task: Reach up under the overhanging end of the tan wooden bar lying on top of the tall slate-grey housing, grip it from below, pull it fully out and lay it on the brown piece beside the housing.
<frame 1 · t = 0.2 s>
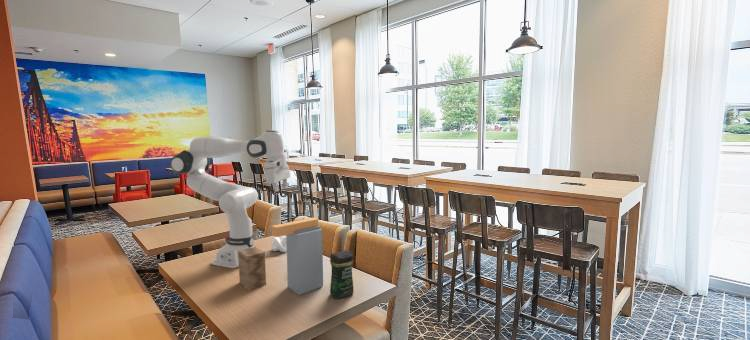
hand: (281, 189, 175), 39 cm above the table, tool pointing down, fingers open, 8 cm apart
housing: (305, 286, 154), on the table
brown piece: (252, 283, 157), on the table
coffee jar: (342, 294, 147), on the table
crumpled paper ball: (280, 250, 201), on the table
tan wooden bar: (296, 231, 149), point 26 cm above the table, touching housing
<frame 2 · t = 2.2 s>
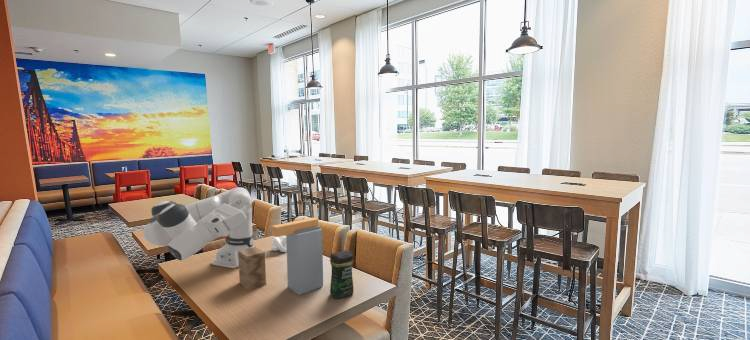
hand: (245, 202, 136), 41 cm above the table, tool pointing upward, fingers open, 8 cm apart
nothing on the table moved.
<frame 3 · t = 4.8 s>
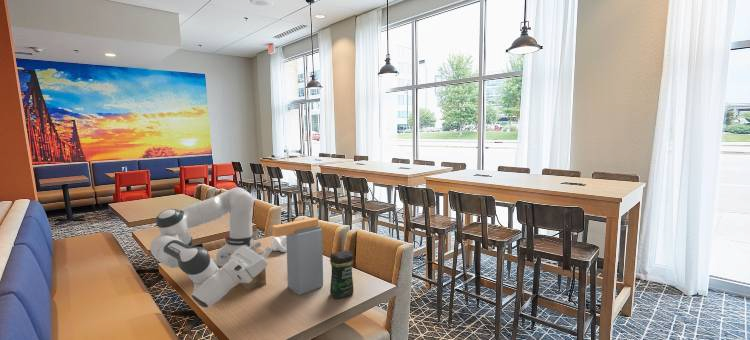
hand: (265, 245, 139), 23 cm above the table, tool pointing upward, fingers open, 8 cm apart
nothing on the table moved.
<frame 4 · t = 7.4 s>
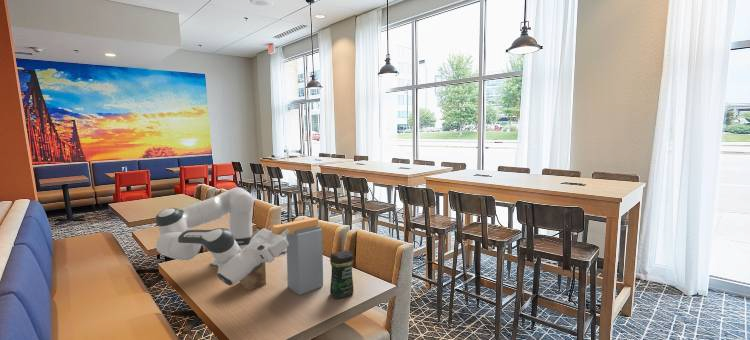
hand: (284, 228, 145), 28 cm above the table, tool pointing upward, fingers closed on tan wooden bar, 4 cm apart
tan wooden bar: (296, 231, 149), point 26 cm above the table, touching gripper, housing
everything else where it was.
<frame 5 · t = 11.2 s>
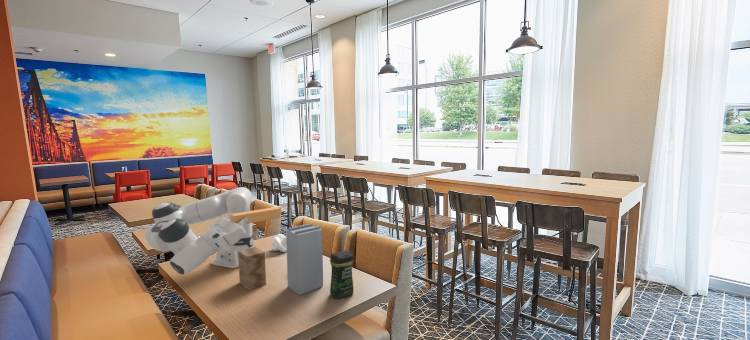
hand: (244, 216, 141), 34 cm above the table, tool pointing upward, fingers closed on tan wooden bar, 4 cm apart
tan wooden bar: (256, 220, 145), point 32 cm above the table, touching gripper
everything else where it was.
when the fingers open (19 cm above the table, at t = 15.5 s): tan wooden bar drops 2 cm, resting on brown piece.
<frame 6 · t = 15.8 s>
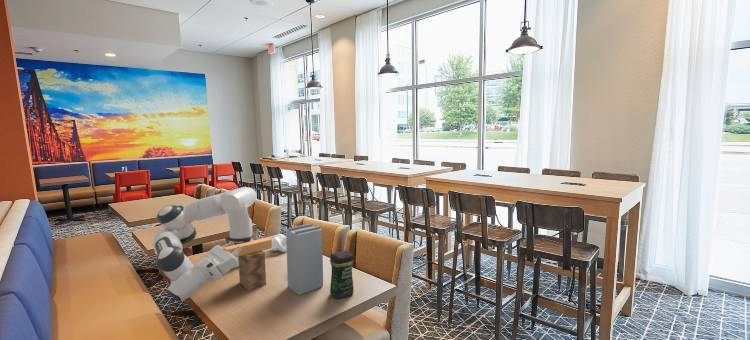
hand: (237, 245, 151), 19 cm above the table, tool pointing upward, fingers open, 7 cm apart
tan wooden bar: (248, 252, 155), point 15 cm above the table, touching brown piece
everything else where it was.
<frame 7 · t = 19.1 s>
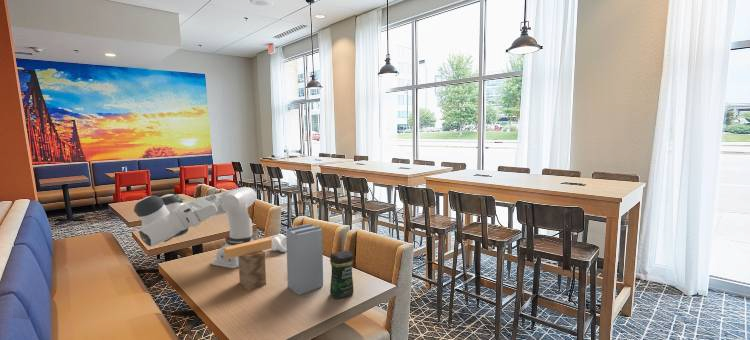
hand: (219, 197, 144), 41 cm above the table, tool pointing upward, fingers open, 8 cm apart
nothing on the table moved.
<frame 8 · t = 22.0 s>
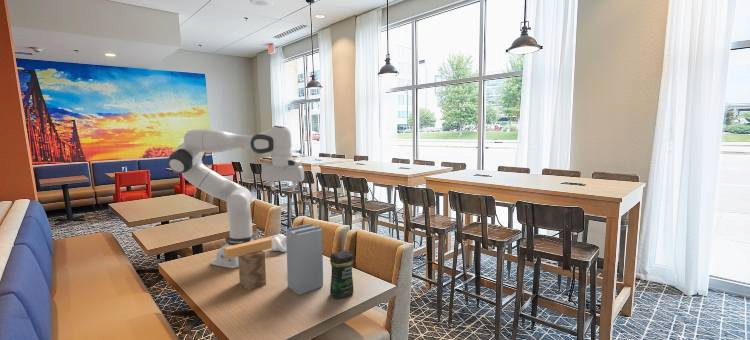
hand: (283, 190, 162), 41 cm above the table, tool pointing down, fingers open, 8 cm apart
nothing on the table moved.
at the end: tan wooden bar inside the target area on the brown piece (1.2 cm from its centre), point 15.0 cm above the brown piece's base; tan wooden bar touching brown piece; the gripper is holding nothing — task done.
